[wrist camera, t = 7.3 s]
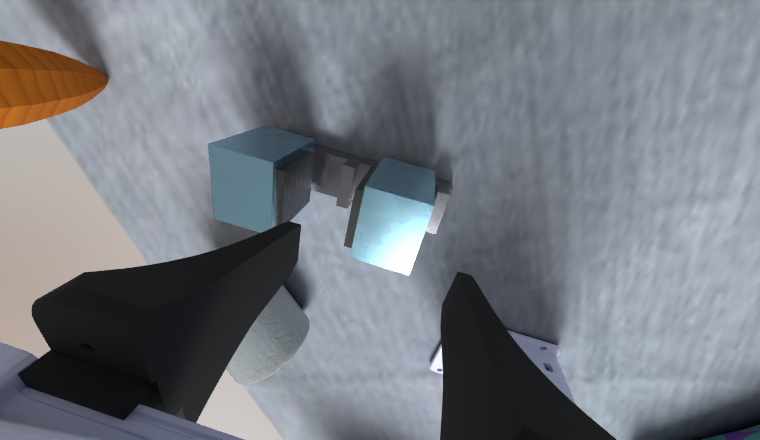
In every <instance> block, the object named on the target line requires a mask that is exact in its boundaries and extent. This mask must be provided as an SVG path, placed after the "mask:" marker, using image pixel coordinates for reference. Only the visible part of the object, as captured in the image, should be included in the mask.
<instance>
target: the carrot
mask: <svg viewBox="0 0 760 440" xmlns="http://www.w3.org/2000/svg"><path fill="white" fill-rule="evenodd" d="M107 84H108V78H107V77H106V76H105V75H104V74H103V73H102V72H100V71H99V70H97V69H95V68H93V67H91V66H89V65H86V64H84V63H82V62H80V61H78V60H75V59H72V58H69V57H66V56H64V55H61V54H58V53H55V52H52V51H47V50H43V49H38V48H34V47H29V46H25V45H20V44H15V43H10V42H4V41H0V129H2V128H8V127H13V126H19V125H24V124H27V123H31V122H35V121H38V120H42V119H45V118H49V117H52V116H55V115H58V114H61V113H64V112H67V111H70V110H73V109H75V108H77V107H79V106H81V105H82V104H84V103H86V102H88V101H89V100H91V99H93V98H94V97H95V96H96V95H97V94H98V93H100V92H101V91H102V90H103V89H104V88H105V87H106V85H107Z"/></svg>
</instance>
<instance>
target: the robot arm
mask: <svg viewBox="0 0 760 440" xmlns="http://www.w3.org/2000/svg"><path fill="white" fill-rule="evenodd" d="M300 231H301V225H300V224H297V223H293V222H290V221H287V222H285V223H282V224H280V225H278V226H275V227H273V228H271V229H269V230H266V231H264V232H262V233H259V234H257V235H255V236H252V237H250V238H247V239H245V240H242V241H239V242H237V243H234V244H231V245H229V246H226V247H223V248H220V249H217V250H214V251H210V252H207V253H203V254H200V255H196V256H192V257H187V258H183V259H178V260H174V261H169V262H164V263H159V264H153V265H146V266H140V267H133V268H125V269H116V270H106V271H96V272H84V273H82V274H81V275H79V276H77V277H75V278H74V279H72V280H70V281H68V282H67V283H65V284H63V285H62V286H60V287H58V288H56V289H55V290H53V291H51V292H49V293H48V294H46V295H44V296H42V297H41V298H39V299H37V300H36V301H35V302H34V304H33V305H32V317H33V319H34V321H35V323H36V325H37V326H38V328H39V330H40V332H41V333H42V335H43V337H44V338H45V340H46V342H47V344H48V345H49V347H50V349H51V350H50V351H49V352H47V353H46V354H45V355H43V356H42V357H40V358H39V359H38V358H37V357H35V356H34V355H33V354H31V353H29V352H27V351H24V350H21V349H19V348H15V347H13V346H10V345H7V344H4V343H1V342H0V440H244V439H241V438H238V437H235V436H232V435H229V434H226V433H223V432H220V431H217V430H214V429H212V428H208V427H206V426H202V425H200V424H197V423H196V422H197V420H198V418H199V416H200V414H201V412H202V410H203V408H204V406H205V405H206V403H207V401H208V399H209V397H210V395H211V393H212V392H213V390H214V388H215V387H216V385H217V383H218V381H219V379H220V378H221V376H222V374H223V372H224V371H225V369H226V367H227V365H228V364H229V362H230V360H231V359H232V357H233V355H234V354H235V352H236V350H237V348H238V347H239V345H240V344H241V342H242V340H243V339H244V337H245V335H246V334H247V332H248V331H249V329H250V327H251V326H252V324H253V323H254V322H255V320H256V319H257V317H258V316H259V315H260V313H261V312H262V311H263V310H264V308H265V307H266V306H267V304H268V303H269V302H270V300H271V299H272V298H273V297H274V295H275V294H276V293H277V291H278V290H279V289H280V287H281V286H282V285H283V284H284V282H285V281H286V279H287V278H288V276H289V275H290V273H291V271H292V270H293V268H294V266H295V264H296V262H297V261H298V251H299V241H300ZM560 352H561V350H560V348H559V347H558V346H557V345H554V344H551V343H548V342H544V341H541V340H538V339H535V338H531V337H528V336H525V335H521V334H518V333H515V332H512V331H508V330H507V329H506V328H505V327H504V325H503V324H502V322H501V321H500V319H499V318H498V317H497V315H496V314H495V312H494V311H493V309H492V307H491V306H490V304H489V303H488V301H487V299H486V298H485V296H484V295H483V293H482V291H481V290H480V288H479V286H478V285H477V283H476V281H475V280H474V278H473V277H472V276H471V275H468V274H465V273H461V272H458V273H457V275H456V277H455V279H454V281H453V283H452V285H451V287H450V289H449V292H448V294H447V296H446V298H445V300H444V302H443V304H442V314H441V344H440V346H439V348H438V350H437V352H436V354H435V356H434V358H433V360H432V362H431V363H430V369H431V370H432V371H435V372H438V373H441V374H443V402H442V419H441V435H440V440H616V439H615V438H614V437H613V436H611V435H610V434H609V433H608V432H607V431H606V430H604V429H603V428H602V427H601V426H600V425H598V424H597V423H596V422H595V421H594V420H592V419H591V418H590V417H589V416H588V415H586V414H585V413H584V412H583V411H582V410H581V409H580V408H579V407H578V406H576V404H575V402H574V399H573V397H572V394H571V392H570V390H569V387H568V385H567V382H566V380H565V377H564V375H563V373H562V370H561V368H560V365H559V363H558V361H557V358H556V357H557V356H558V355H559V354H560Z"/></svg>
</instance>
